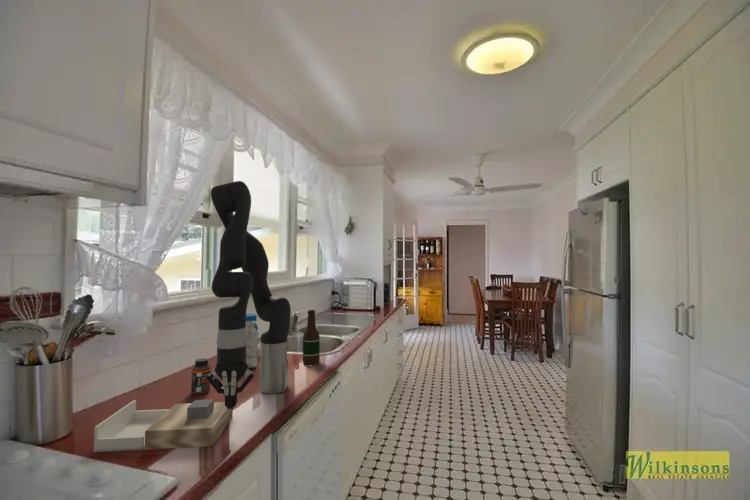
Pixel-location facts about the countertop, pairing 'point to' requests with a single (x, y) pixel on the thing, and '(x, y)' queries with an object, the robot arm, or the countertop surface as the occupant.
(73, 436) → the countertop surface
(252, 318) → the beverage bottle
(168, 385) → the countertop surface
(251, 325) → the plastic bottle
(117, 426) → the box
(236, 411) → the countertop surface
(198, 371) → the supplement bottle
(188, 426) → the board
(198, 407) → the grey block
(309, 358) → the beer bottle
